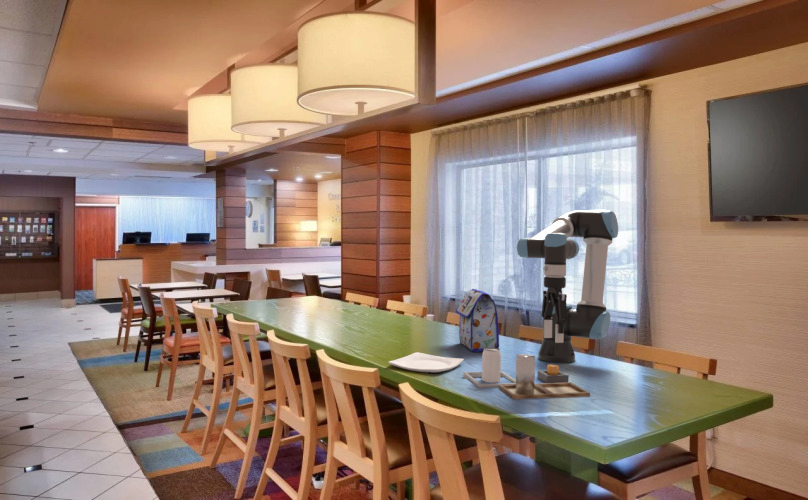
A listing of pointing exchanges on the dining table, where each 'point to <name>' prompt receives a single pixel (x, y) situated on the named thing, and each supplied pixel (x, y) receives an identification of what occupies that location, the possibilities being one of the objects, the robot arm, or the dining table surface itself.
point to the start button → (552, 369)
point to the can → (491, 365)
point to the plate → (426, 363)
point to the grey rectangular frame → (479, 374)
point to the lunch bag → (478, 321)
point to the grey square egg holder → (553, 377)
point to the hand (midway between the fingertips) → (553, 340)
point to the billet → (525, 374)
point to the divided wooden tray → (547, 391)
